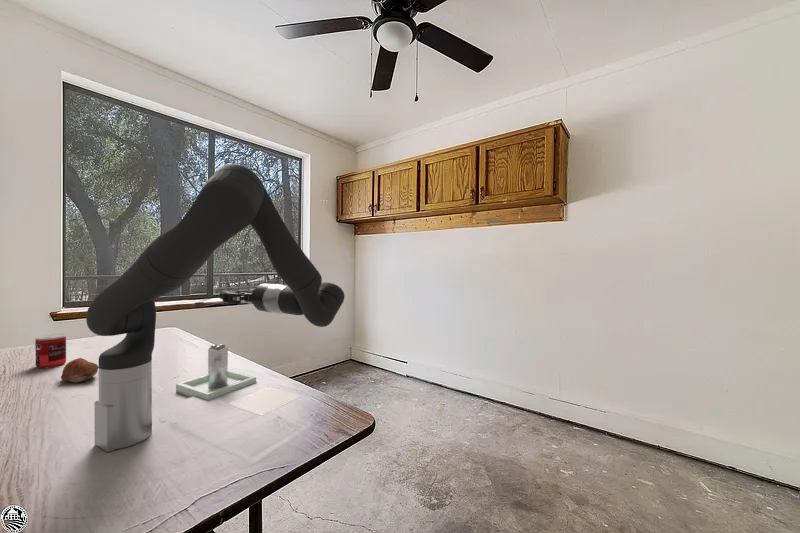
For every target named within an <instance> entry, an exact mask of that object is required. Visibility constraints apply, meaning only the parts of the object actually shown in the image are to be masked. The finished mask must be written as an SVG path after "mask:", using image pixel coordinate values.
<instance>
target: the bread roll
mask: <svg viewBox="0 0 800 533" xmlns="http://www.w3.org/2000/svg"><path fill="white" fill-rule="evenodd" d="M98 372H99V365H98V364H97V363H94V362H92V361H88V360H86V359H84V358H82V357H79V358H75V359H73V360H71V361H69V362H68V363H66V364H65V366H64V367H63V369H62V373H61V376H60V379H61V380H62V381H65V382H71V383H82V382H85V381H87V380H90V379H91V378H93V377H94V376H95V375H96V374H98Z"/></svg>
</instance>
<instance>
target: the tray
mask: <svg viewBox="0 0 800 533" xmlns="http://www.w3.org/2000/svg"><path fill="white" fill-rule="evenodd" d="M237 381H238V382H237ZM256 382H257V377H256V376H253V375H249V374H245V373H241V372H237V371H234V370H230V369H228V384H227V385H226V386H225V387H222V388H216V390H215V389H209V388H208V373H207V374H204V375H202V376H197V377H194V378H191V379H188V380H185V381H181V382H178V383H176V384H175V393H178V394H180V395H183V396H186V397H189V398H193V397H199V398H201V399H203V400H206V401H209V400H212V399H215V398H216V397H220V396H222V395H225V394H228V393H231V392H234V391H235V390H239V389H241V388H244V387H246V386H249V385H251V384H254V383H256Z"/></svg>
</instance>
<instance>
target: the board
mask: <svg viewBox="0 0 800 533" xmlns="http://www.w3.org/2000/svg"><path fill="white" fill-rule="evenodd" d="M301 397H302V395H300V394H296V393H292V392H289V391H284V390H281V389H277V388H274V387H270V386H268V387H265V388H262V389H260V390H258V391H254V392H253V393H250V394H248V395H245V396H242V397H240V398H237V399H235V400H233V401H231V402H227V405H229V406H231V407H234V408H238V409H241V410H243V411H246V412H249V413H252V414H255V415H258V416H261V417H262V416H263V417H264V416H265V415H267V414H269V413H271V412H273V411H275V410H277V409H279V408H281V407H283V406H285V405H287V404H289V403H291V402H293V401H295V400H298V399H299V398H301Z"/></svg>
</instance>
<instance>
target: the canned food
mask: <svg viewBox="0 0 800 533" xmlns="http://www.w3.org/2000/svg"><path fill="white" fill-rule="evenodd" d="M34 344H35V346H34V347H35V366H36V368H37V367H38V368H37V369H46V368H45V367H51V368H54V367H53V366H57V367H59V366H58V365H61V366H63V365H65V364H66V363H67V334H64V333H55V334H53V333H52V334H45V335H40V336H37V337H35V343H34ZM64 363H65V364H64ZM62 364H63V365H62Z"/></svg>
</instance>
